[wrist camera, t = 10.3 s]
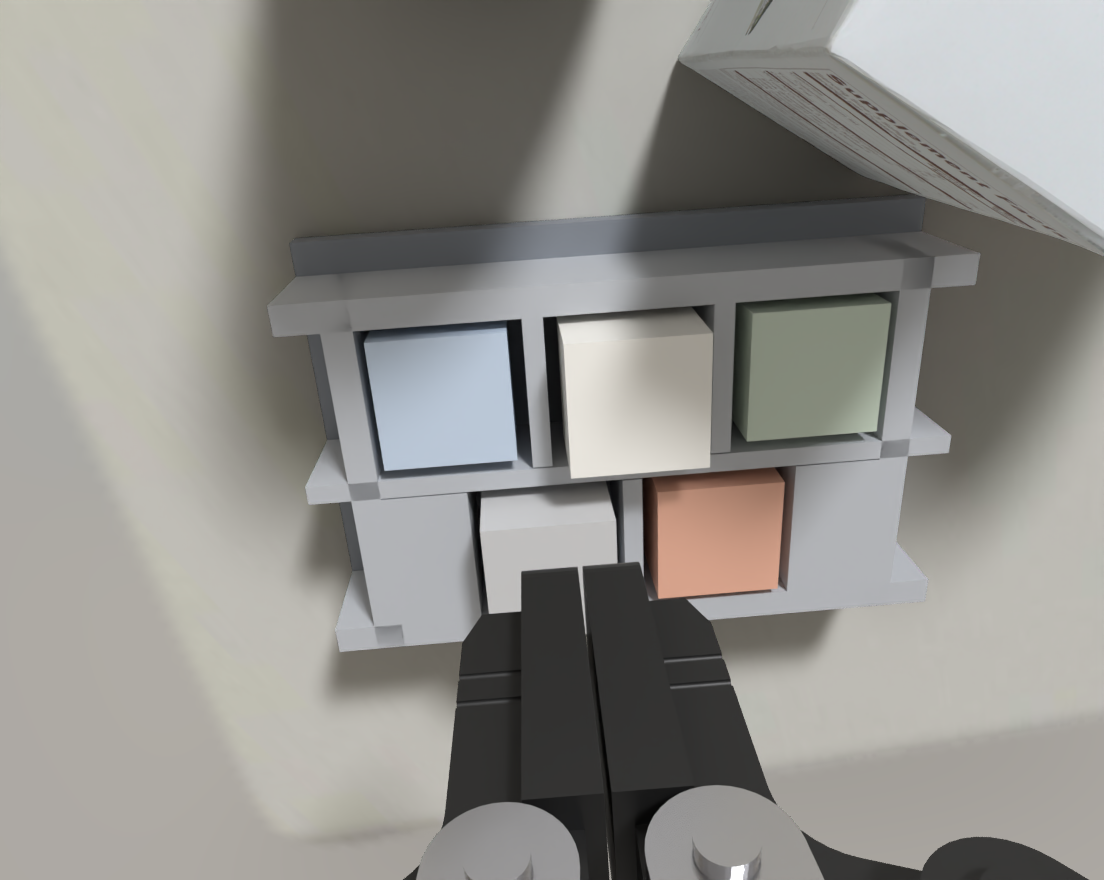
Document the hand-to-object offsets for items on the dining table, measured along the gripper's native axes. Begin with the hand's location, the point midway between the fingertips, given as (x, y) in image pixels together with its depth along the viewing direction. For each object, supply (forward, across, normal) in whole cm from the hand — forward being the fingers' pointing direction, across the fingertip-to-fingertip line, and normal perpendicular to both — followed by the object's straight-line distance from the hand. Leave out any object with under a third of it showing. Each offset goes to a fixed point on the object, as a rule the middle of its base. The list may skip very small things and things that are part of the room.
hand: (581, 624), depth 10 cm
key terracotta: (+17, -5, +8) cm, 19 cm away
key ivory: (+15, -2, +2) cm, 15 cm away
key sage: (+17, -8, +2) cm, 19 cm away
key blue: (+16, +3, +2) cm, 17 cm away
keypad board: (+18, -2, +5) cm, 19 cm away
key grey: (+15, +1, +8) cm, 17 cm away
